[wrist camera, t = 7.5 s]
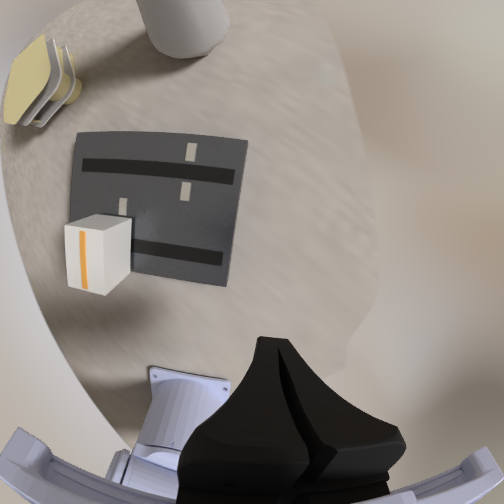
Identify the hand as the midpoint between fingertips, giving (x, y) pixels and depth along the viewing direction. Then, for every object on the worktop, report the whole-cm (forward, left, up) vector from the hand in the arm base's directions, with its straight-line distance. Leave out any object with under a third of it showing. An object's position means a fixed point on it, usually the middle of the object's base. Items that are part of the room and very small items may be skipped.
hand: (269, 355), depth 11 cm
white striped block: (+2, +11, -8) cm, 13 cm away
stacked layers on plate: (+14, +21, -10) cm, 27 cm away
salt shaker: (+18, +8, -10) cm, 22 cm away
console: (+5, +9, -10) cm, 14 cm away
